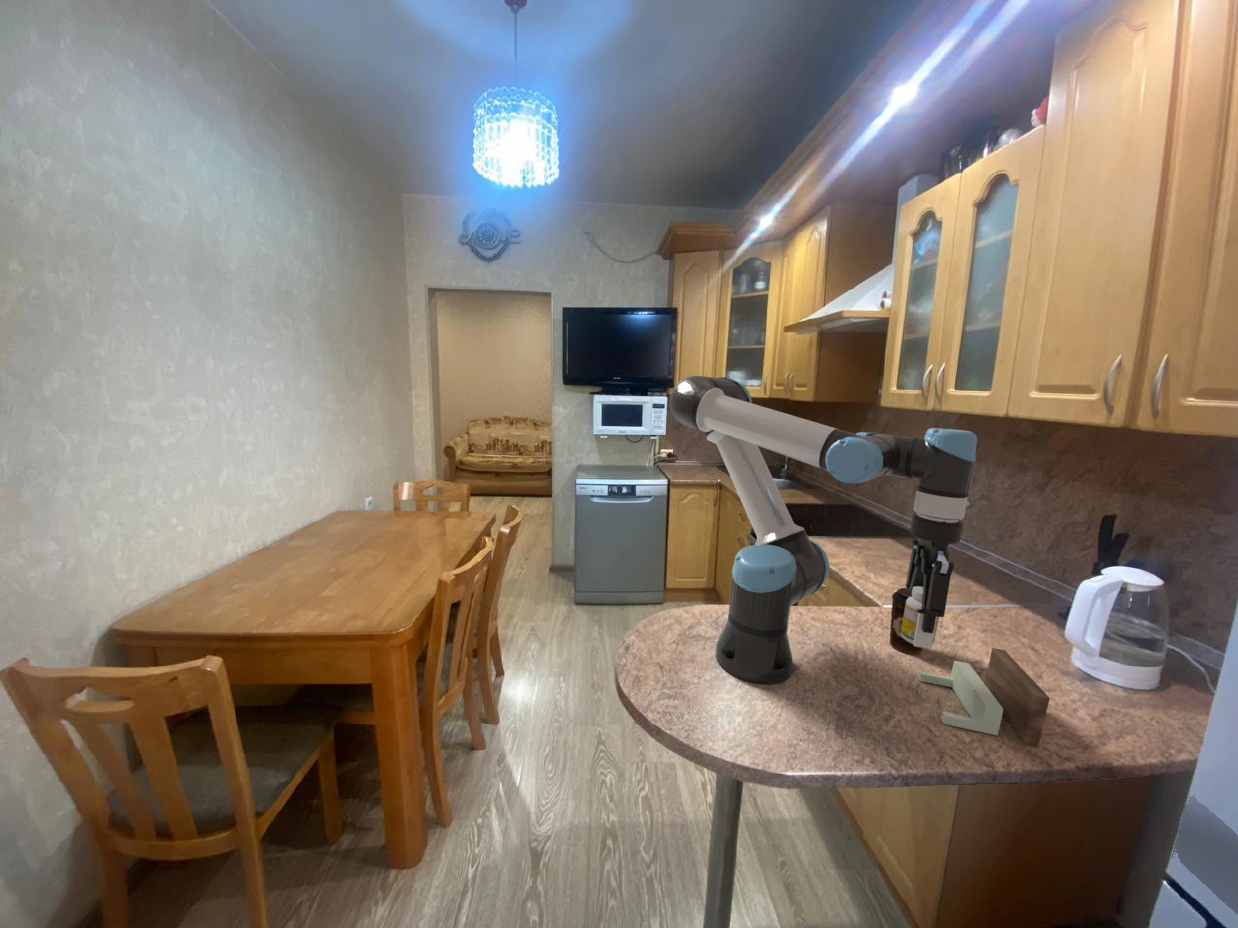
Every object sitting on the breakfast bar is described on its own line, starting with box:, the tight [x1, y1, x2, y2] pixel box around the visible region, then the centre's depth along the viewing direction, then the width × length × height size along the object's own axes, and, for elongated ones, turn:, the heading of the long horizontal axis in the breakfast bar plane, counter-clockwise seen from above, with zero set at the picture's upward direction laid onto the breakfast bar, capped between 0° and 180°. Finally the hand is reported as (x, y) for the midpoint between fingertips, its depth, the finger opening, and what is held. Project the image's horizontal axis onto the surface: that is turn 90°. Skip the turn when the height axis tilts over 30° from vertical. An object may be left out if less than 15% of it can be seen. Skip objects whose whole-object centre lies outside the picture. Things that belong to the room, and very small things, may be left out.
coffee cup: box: [889, 587, 923, 655], centre depth 106 cm, size 9×8×13 cm
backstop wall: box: [984, 647, 1051, 748], centre depth 85 cm, size 2×15×9 cm, turn 164°
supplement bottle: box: [901, 586, 940, 646], centre depth 87 cm, size 5×5×10 cm
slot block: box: [917, 660, 1003, 736], centre depth 88 cm, size 8×14×5 cm, turn 164°
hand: (916, 637), depth 88 cm, fingers closed on supplement bottle, 5 cm apart
